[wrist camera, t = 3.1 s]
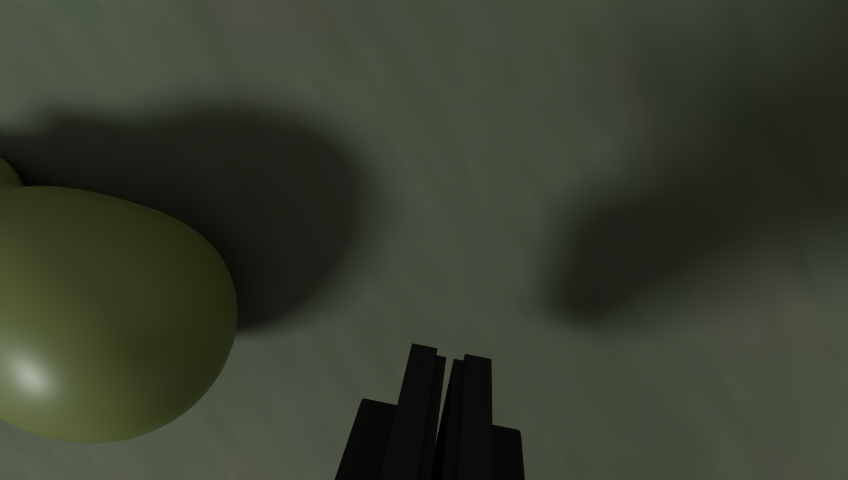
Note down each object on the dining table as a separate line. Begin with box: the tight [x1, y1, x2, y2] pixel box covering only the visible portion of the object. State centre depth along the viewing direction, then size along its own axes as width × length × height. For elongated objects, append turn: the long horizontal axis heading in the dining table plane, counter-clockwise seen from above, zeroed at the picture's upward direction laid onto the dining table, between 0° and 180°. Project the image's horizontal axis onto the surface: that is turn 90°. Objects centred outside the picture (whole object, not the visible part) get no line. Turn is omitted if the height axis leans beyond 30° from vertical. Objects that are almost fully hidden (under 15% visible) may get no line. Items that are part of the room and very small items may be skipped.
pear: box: [0, 158, 238, 443], centre depth 14 cm, size 6×5×10 cm
